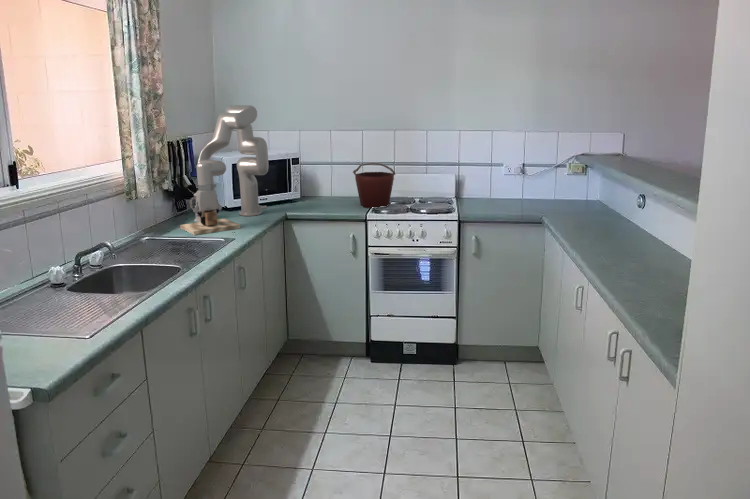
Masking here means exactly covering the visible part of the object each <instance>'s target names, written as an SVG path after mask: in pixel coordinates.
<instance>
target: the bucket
mask: <svg viewBox="0 0 750 499" xmlns="http://www.w3.org/2000/svg"><path fill="white" fill-rule="evenodd" d="M369 165H376V166H382V167H384V168H386V169H387V170H390V171H391V172H387V171H386V172H385V171H365V172H359V173H357V172H358V171H359V170H360V169H361V168H362V167H363V166H369ZM352 173H353V174H354V178H355V184H356V188H357V189H356V190H357V193H358V200H359V203H360V206H361V207H362V206H363V208H364V209H373V208H372V207H380V206H387V205H388V204H389V205H390V201H391V196H392V190H393V185H394V180H395V176H396V172H395V170H393V168H392V167H390V166H388V165H385V164H383V163H380V162H379V163H378V162H370V163H369V162H368V163H362V164H360V165H359V166H358V167H357V168H356V169H353V171H352ZM389 205H388V206H389Z"/></svg>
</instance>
